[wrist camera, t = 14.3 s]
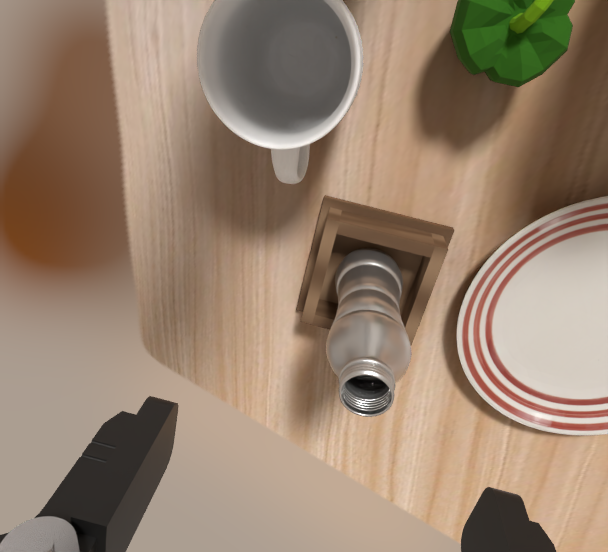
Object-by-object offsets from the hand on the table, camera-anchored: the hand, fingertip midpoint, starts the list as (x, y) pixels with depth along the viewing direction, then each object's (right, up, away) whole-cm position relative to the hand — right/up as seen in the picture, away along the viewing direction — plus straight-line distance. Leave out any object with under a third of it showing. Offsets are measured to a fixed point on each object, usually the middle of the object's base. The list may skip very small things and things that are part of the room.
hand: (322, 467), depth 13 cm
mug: (-1, +23, +32) cm, 39 cm away
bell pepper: (+16, +26, +28) cm, 41 cm away
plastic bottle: (+6, +5, +38) cm, 39 cm away
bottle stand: (+6, +6, +39) cm, 40 cm away
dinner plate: (+29, +1, +38) cm, 48 cm away
